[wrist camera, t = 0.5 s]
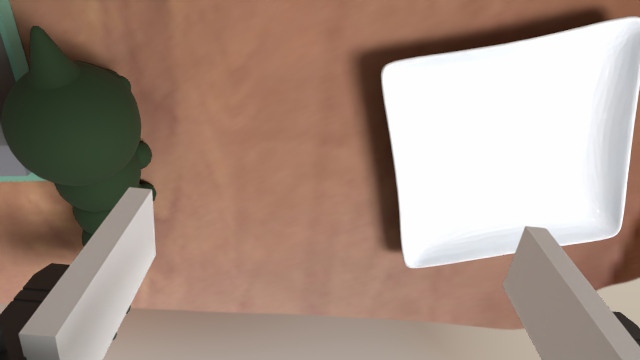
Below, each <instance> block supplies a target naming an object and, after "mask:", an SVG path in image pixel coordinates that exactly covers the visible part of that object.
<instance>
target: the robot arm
mask: <svg viewBox="0 0 640 360" xmlns="http://www.w3.org/2000/svg"><path fill="white" fill-rule="evenodd" d="M155 255H156V252H155V233H154V215H153V196H152V189H142V188H132V187H129V188H128V190H127V191H126V192H125V194H124V195H123V196H122V198H121V199H120V200H119V201H118V203H117V204H116V205H115V207H114V208H113V209H112V211H111V212H110V213H109V215H108V216H107V217H106V219H105V220H104V221H103V223H102V224H101V225H100V227H99V228H98V229H97V231H96V232H95V233H94V235H93V236H92V237H91V239H90V240H89V241H88V243H87V244H86V245H85V246H84V248H83V249H82V250H81V252H80V253H79V254H78V256H77V257H76V258H75V260H74V261H73V262H72V264H71V265H65V264H53V263H51V264H50V265H48V266H47V267H45V268H43V269H42V270H40V271H39V272H37V273H35V274H34V275H33V276H32V278H31V279H30V280H29V281H28V282H27V283H26V285H25V286H24V287H23V290H21V291H20V292H19V293H18V294H17V295H16V296H15V298H14V301H11V302H10V304H9V305H8V306H7V307H6V308H5V310H4V311H3V312H2V313H1V314H0V360H102V359H103V357H104V355H105V353H106V351H107V350H108V348H109V345H110V344H111V342H112V340H113V338H114V336H115V334H116V332H117V330H118V328H119V326H120V324H121V322H122V320H123V318H124V316H125V314H126V312H127V310H128V308H129V306H130V304H131V302H132V301H133V299H134V297H135V295H136V293H137V291H138V289H139V287H140V285H141V283H142V281H143V279H144V277H145V275H146V273H147V271H148V269H149V267H150V265H151V263H152V261H153V259H154V257H155ZM503 288H504V290H505V292H506V294H507V295H508V297H509V299H510V301H511V303H512V305H513V307H514V309H515V311H516V312H517V314H518V316H519V318H520V320H521V322H522V324H523V326H524V327H525V329H526V331H527V333H528V335H529V337H530V339H531V340H532V342H533V344H534V346H535V348H536V350H537V352H538V354H539V355H540V357H541V359H542V360H640V328H639V327H638V326H637V325H636V324H635V323H633V322H632V321H631V320H629V319H628V318H627V317H626V316H624V315H623V314H622V313H620V312H612V311H611V310H610V309H609V307H608V306H607V305H606V303H605V302H604V301H603V300H602V298H601V297H600V296H599V295H598V293H597V292H596V291H595V289H594V288H593V287H592V286H591V284H590V283H589V282H588V281H587V279H586V278H585V277H584V276H583V274H582V273H581V272H580V270H579V269H578V268H577V267H576V265H575V264H574V263H573V262H572V260H571V259H570V258H569V257H568V255H567V254H566V253H565V251H564V250H563V249H562V248H561V246H560V245H559V244H558V243H557V241H556V240H555V239H554V238H553V236H552V235H551V234H550V232H549V231H548V230H547V229H546V228H540V227H530V226H525V228H524V231H523V233H522V236H521V239H520V241H519V244H518V247H517V249H516V252H515V255H514V257H513V260H512V263H511V265H510V268H509V271H508V273H507V276H506V279H505V281H504V284H503Z"/></svg>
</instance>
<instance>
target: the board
mask: <svg viewBox="0 0 640 360" xmlns="http://www.w3.org/2000/svg"><path fill="white" fill-rule="evenodd" d="M28 71H30V70H29V67H28V64H27V60H26V57H25V53H24V50H23V47H22V43H21V40H20V37H19V33H18V30H17V26H16V23H15V20H14V16H13V13H12V10H11V6H10V3H9V0H0V181H48V180H45V179H42V178H40V177H38V176H37V175H35V174H34V173H32V172H31V171H29V170H28V169H26V168H25V167H24V166H23V165H22V164H21V163H20V162H19V161H18V160H17V158H16V157H15V156H14V155H13V153H12V152H11V150H10V148H9V146H8V144H7V142H6V140H5V138H4V134H3V130H2V123H1V118H2V111H3V106H4V102H5V99H6V97H7V95H8V93H9V92H10V90H11V88H12V87H13V85H14V84H15V83H16V82H17V80H19V79H20V78H21V77H22V76H23V75H24V74H26V73H27V72H28Z"/></svg>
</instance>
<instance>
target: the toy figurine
mask: <svg viewBox="0 0 640 360" xmlns="http://www.w3.org/2000/svg"><path fill="white" fill-rule="evenodd" d="M1 123H2V130H3V134H4V138H5V140H6V142H7V144H8V146H9V148H10V150H11V152H12V153H13V155H14V156H15V157H16V158H17V160H18V161H19V162H20V163H21V164H22V165H23V166H24V167H25V168H26V169H28V170H29V171H31V172H32V173H34V174H35V175H37V176H38V177H40V178H42V179H45V180H48V181H50V182H53V183H54V184H55V186H56V188H57V190H58V192H59V194H60V195H61V196H62V197H63V198H64V199H65V200H66V201H67V202H69V203H70V204H71V205H73V213H74V216H75V218H76V220H77V222H78V223H79V225H80V226H81V227H82V228H83V232H82V243H83V246H85V245H86V244H87V243H88V241H89V240H90V239H91V237H92V236H93V235H94V233H95V232H96V231H97V229H98V228H99V227H100V225H101V224H102V223H103V221H104V220H105V219H106V217H107V216H108V215H109V213H110V212H111V211H112V209H113V208H114V207H115V205H116V204H117V203H118V201H119V200H120V199H121V198H122V196H123V195H124V194H125V192H126V191H127V190H128V188H129V187H132V188H142V189H152V196H153V201H154V200H155V197H156V191H155V189H154V187H153V185H151V184H148V183H144V184H139V181H140V176H141V170H140V169H143V168H145V167H146V166H147V165H148V164H149V163H150V162H151V158H152V153H151V149H150V148H149V146H148V144H146V143H144V142H143V141H140V136H141V120H140V114H139V110H138V106H137V103H136V100H135V98H134V96H133V94H132V93H131V85H130V82H129V81H128V79H126V78H125V77H123V76H119V75H118V74H117V73H116V72H114V71H111V70H108V69H101V68H99V67H97V66H94V65H91V64H88V63H84V62H79V61H70V60H69V59H68V57H67V56H66V55H65V54H64V53H63V52H62V51H61V50H60V48H59V47H58V46H57V45H56V44H55V43H54V42H53V40H52V39H51V38H50V37H49V36H48V35H47V34H46V33H45V31H44V30H43V29H41V28H40V27H39V26H33V27H32V28H31V32H30V71H28V72H27V73H26V74H24V75H23V76H22V77H21V78H20V79H19V80H17V82H16V83H15V84H14V85H13V87H12V88H11V90H10V92H9V93H8V95H7V97H6V99H5V102H4V106H3V111H2V118H1ZM130 306H131V305H130ZM130 306H129V308H128V310H127V312H126V314H127V313H128V312H129V310H130ZM116 335H117V332H116V334H115V336H114V338H113V340H114V339H115V337H116ZM113 340H112V341H113Z"/></svg>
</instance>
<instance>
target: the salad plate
mask: <svg viewBox="0 0 640 360" xmlns="http://www.w3.org/2000/svg"><path fill="white" fill-rule="evenodd" d="M381 85H382V93H383V100H384V106H385V112H386V118H387V124H388V130H389V136H390V143H391V149H392V156H393V163H394V170H395V177H396V186H397V195H398V206H399V221H400V239H401V247H402V255H403V260H404V262H405V264H406V266H407V267H409V268H421V267H430V266H437V265H444V264H450V263H456V262H463V261H469V260H475V259H481V258H487V257H493V256H499V255H505V254H511V253H515V252H516V249H517V247H518V244H519V241H520V239H521V236H522V233H523V231H524V228H525V226H530V227H540V228H546V229H547V230H548V231H549V232H550V234H551V235H552V236H553V238H554V239H555V240H556V241H557V243H558V244H559V245H560V246H564V245H570V244H577V243H584V242H591V241H597V240H603V239H607V238H610V237H613V236H615V235H616V234H617V233H618V232H619V231H620V229H621V225H622V220H623V213H624V206H625V197H626V188H627V179H628V171H629V163H630V153H631V145H632V137H633V129H634V121H635V114H636V108H637V101H638V93H639V87H640V17H634V16H631V17H623V18H618V19H612V20H608V21H603V22H599V23H594V24H590V25H586V26H582V27H578V28H574V29H570V30H565V31H561V32H557V33H553V34H548V35H543V36H539V37H534V38H529V39H524V40H519V41H514V42H509V43H504V44H498V45H493V46H486V47H480V48H473V49H467V50H460V51H454V52H447V53H440V54H432V55H426V56H419V57H413V58H407V59H402V60H397V61H393V62H390V63H388V64H386V65H385V66H384V67H383V69H382V71H381Z"/></svg>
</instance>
